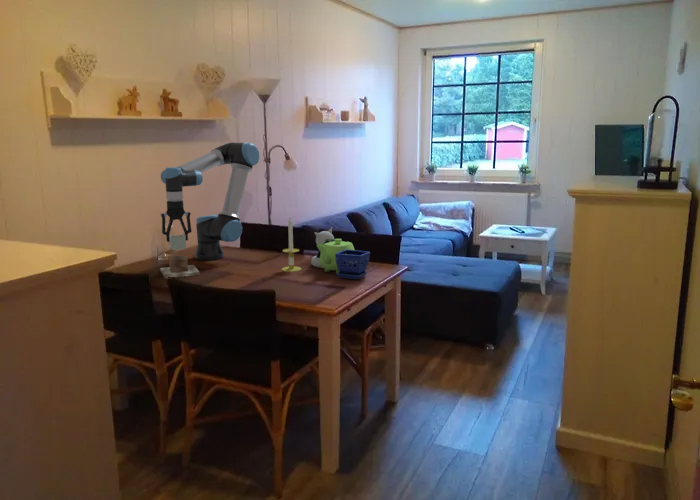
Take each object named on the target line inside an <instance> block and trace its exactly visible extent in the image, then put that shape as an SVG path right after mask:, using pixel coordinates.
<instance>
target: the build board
mask: <svg viewBox="0 0 700 500" xmlns="http://www.w3.org/2000/svg"><path fill="white" fill-rule="evenodd" d="M160 272H161V274H162V276H163V277H164V279H166V280H167V279H169V278H168V277H175V278H184V276H185V277H191V276H192V277H193V276H200V271H199V269H198V268H197V267H196V266H195V264H188V271H183V272H172V273H171V271H170V266H168V267H166V266H165V267H160Z"/></svg>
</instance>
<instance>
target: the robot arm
mask: <svg viewBox="0 0 700 500" xmlns="http://www.w3.org/2000/svg"><path fill="white" fill-rule="evenodd" d="M259 161H260V152H259V148H258V147H257V146H256V145H255V144H254V143H251V142H227V143H225V144H223V145H220V146H217V147H215V148H213V149H211V150H210V152H208V153H206V154H204V155H201V156H199V157H197V158H195V159H193V160H192V159H191V161H188V162H186V163H184V164H180V165H178V166H176V167H175V166H174V167H173V166H170V167H166V168H165V169H163V170H162V171H161V173H160V179H161V182H162V183H163V184H164V185H165V196H166V198H165V199H166V212H161V213H160V217H161V234H162V235H165V236H166V239H165V240H166V242H167V243H168V245H169V249H170V250H172V245H171V236H172V235H171V230H172V226H173V223H174V221H176V220H177V221H179V222H180V225H181V228H182V230H183V234H182V235H183V236H184V237H185V249H187V242H186V241H189V235H188V234H190V233H192V225H191V215H192V214H191V212H190V211H185V209H184V195H183V194H184V193H183V192H184V191H183V188H184V187H197V186H201V185H202V183H203V180H204V179H203V174H202V173H203V172H206V171H208V170H211V169H212V168H214V167H222V166H224V165H230V167H231V168H232V169H231V174H230V178H229V181H228V186H227V191H226V193H225V199H224V201H223V202H224V203H223V206H222V210H221V212H218V214H210V215H203V216H198V217H197V218H196V221H195V222H196V223H195V225H196V226H195V227H196V240H197V246H196V249H195V253H194V256H195V259H196V260H199V261H215V260H220V259H223V258H224V250H223V249H222V246H221V242H220V241H223V242H225V243H226V242H227V243H228V242H230V243H231V242H233V243H234V242H236V241H237V240H238V239H239V238H240V237H241V235H242V233H243V225H242V222H241V218H240V216H239V213H240V209H241V205H242V202H243V201H242V200H243V196H244V192H245V187H246V184H247V178H248V176H249V172H251V171H252V170H253V166H255V165H257V164H259ZM184 215H185V216H186V217H185V218H186V224H187V227H186V225H185V222H184V219H183V216H184ZM167 217H169V221H168V225H167V228H166V218H167Z"/></svg>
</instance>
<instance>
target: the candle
mask: <svg viewBox="0 0 700 500" xmlns="http://www.w3.org/2000/svg"><path fill="white" fill-rule="evenodd" d="M287 223H288V229H287V230H288V232H287V233H288V248H283V249H282V252H283V253H286V254H288V266H283V267H281V271H282V272H286V273H287V272H288V273H294V272H300V271H302V268H301V267H300V266H295V263H294V262H295V254H294V253H298V252H300V249H299V248H294V234H293V233H294V232H293V230H294V229H293V226H294V225H293V220H292V217H291V216H289V218H288V221H287Z"/></svg>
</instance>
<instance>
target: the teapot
mask: <svg viewBox="0 0 700 500" xmlns="http://www.w3.org/2000/svg"><path fill="white" fill-rule="evenodd" d="M316 247H317V249H318V251H319V250H320V252H321V254H320V265H321V267H322V268H321V269H324V271H323V272H326V273H327V272H331V271H335V272H336V275H337V273H338V272H340V271H339V269H338V267H337V264H336V258H335V254H336V253H338V252H340V251H343V250H346V249H347V250H356V249H355V247H354V245H353V243H352V242H350V241H343V240H342V238H334V241H333V242H329V243H325V244H324V246H323V245H322V244H318V245H317V244H316ZM345 254H347V253H345ZM350 263H351V261H350Z"/></svg>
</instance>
